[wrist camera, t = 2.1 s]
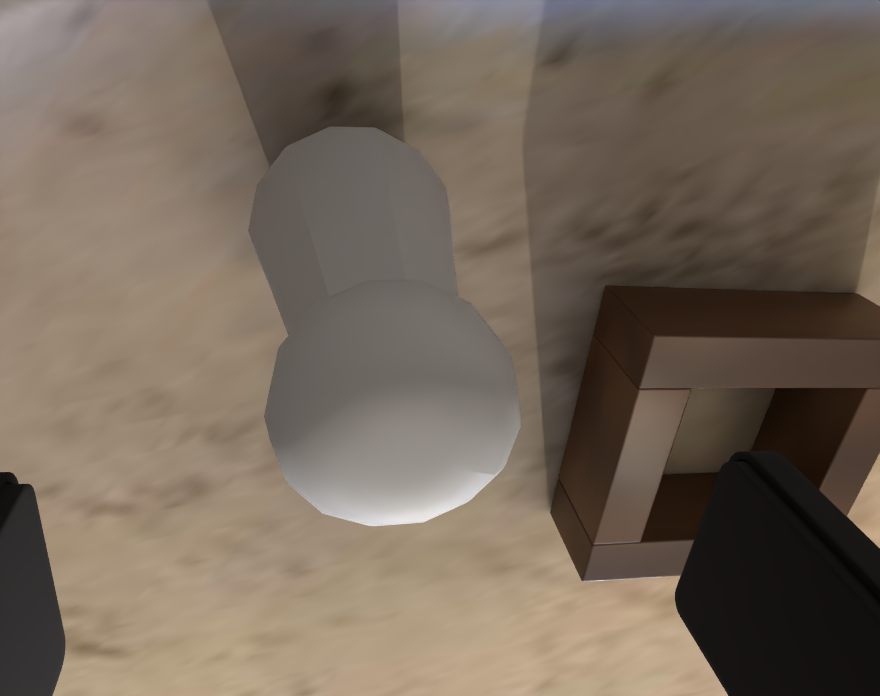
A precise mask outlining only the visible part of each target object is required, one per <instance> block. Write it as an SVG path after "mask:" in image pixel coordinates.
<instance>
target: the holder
mask: <svg viewBox="0 0 880 696" xmlns="http://www.w3.org/2000/svg"><path fill="white" fill-rule="evenodd" d="M691 388H777V390H776V393H775V395H774V398H773V400H772V403H771V405H770V408H769V410H768V413H767V415H766V417H765V420H764V422H763V425H762V427H761V430H760V432H759V435H758V437H757V440H756V442H755V445H754V447H753V450H752V451H776V452H779V453H780V454H782V455H783V456H785V457H786V458H787V459H788V460H789V461H790V462H791V463H792V464H793V465H794V466H795V467H796V468H797V469H798V470H799V471H800V472H801V473H802V474H803V475H804V476H805V477H806V478H807V479H808V480H809V481H810V482H811V483H812V484H813V485H814V486H815V487H817V488H818V489H819V490H820V491H821V492H822V493H823V494H824V495H825V496H826V497H827V498H828V499H829V500H830V501H831V502H832V503H833V504H834V505H835V506H836V507H837V508H838V509H839V510H840V511H841V512H842V513H843V514H844V515H845V516H846V517H847V515H848V513H849V511H850V509H851V507H852V505H853V503H854V502H855V500H856V498H857V496H858V494H859V492H860V490H861V488H862V486H863V484H864V482H865V480H866V478H867V476H868V474H869V472H870V471H871V469H872V467H873V465H874V463H875V461H876V459H877V457H878V455H879V453H880V306H878V305H876V304H875V303H873V302H871V301H869V300H868V299H866V298H864V297H863V296H861V295H859V294H847V293H816V292H785V291H755V290H724V289H693V288H662V287H631V286H606V287H605V290H604V294H603V298H602V302H601V306H600V311H599V315H598V319H597V323H596V327H595V331H594V335H593V340H592V344H591V348H590V352H589V356H588V360H587V364H586V368H585V372H584V376H583V380H582V384H581V388H580V393H579V397H578V401H577V405H576V409H575V413H574V417H573V421H572V425H571V429H570V433H569V437H568V442H567V446H566V450H565V454H564V458H563V462H562V466H561V470H560V474H559V479H558V483H557V487H556V491H555V495H554V499H553V503H552V507H551V511H550V513H551V516H552V518H553V520H554V522H555V524H556V527H557V529H558V531H559V533H560V535H561V537H562V539H563V542H564V544H565V546H566V548H567V550H568V552H569V555H570V557H571V559H572V561H573V563H574V565H575V568H576V570H577V572H578V574H579V576H580V578H581V581H582V582H590V581H605V580H620V579H635V578H650V577H665V576H680V575H681V574H682V571H683V569H684V566H685V563H686V561H687V558H688V555H689V552H690V550H691V547H692V544H693V542H694V539H695V536H696V533H697V531H698V528H699V525H700V523H701V520H702V517H703V515H704V512H705V509H706V506H707V504H708V501H709V498H710V496H711V493H712V490H713V487H714V485H715V482H716V479H717V477H718V474H719V473H709V474H678V475H663V473H664V470H665V467H666V464H667V461H668V458H669V455H670V452H671V449H672V446H673V443H674V440H675V437H676V434H677V431H678V428H679V425H680V422H681V419H682V416H683V413H684V410H685V407H686V404H687V401H688V398H689V395H690V392H691Z"/></svg>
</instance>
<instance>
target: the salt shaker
mask: <svg viewBox="0 0 880 696" xmlns="http://www.w3.org/2000/svg"><path fill="white" fill-rule="evenodd" d="M248 231H249V233H250V236H251V239H252V242H253V245H254V248H255V250H256V253H257V256H258V259H259V262H260V265H261V267H262V270H263V273H264V275H265V277H266V280H267V282H268V284H269V286H270V289H271V291H272V293H273V296H274V299H275V301H276V304H277V306H278V309H279V312H280V314H281V317H282V320H283V322H284V325H285V327H286V330H287V333H288V335H289V336H288V337H287V338H286V339H285V341H284V342H283V343H282V344H281V345H280V347H279V348H278V353H277V358H276V362H275V367H274V371H273V376H272V380H271V385H270V390H269V394H268V399H267V405H266V410H265V415H264V417H265V422H266V426H267V430H268V434H269V438H270V441H271V444H272V446H273V449H274V451H275V454H276V456H277V459H278V462H279V464H280V467H281V469H282V472H283V475H284V477H285V480H286V482H287V483H288V484H289V485H290V486H291V487H292V488H293V489H295V490H296V491H297V492H298V493H299V494H300V495H302V496H303V497H304V498H305V499H306V500H307V501H309V502H310V503H311V504H312V505H313V506H314V507H316V508H317V509H318V510H319V511H320V512H321V513H323V514H327V515H330V516H334V517H338V518H342V519H345V520H349V521H353V522H357V523H361V524H364V525H368V526H382V525H395V524H408V523H421V522H425V521H427V520H429V519H432V518H434V517H436V516H438V515H440V514H443V513H445V512H447V511H449V510H451V509H454V508H456V507H458V506H460V505H463V504H465V503H467V502H468V501H470V500H471V499H472V498H473V497H474V496H475V495H476V494H477V493H478V492H479V491H480V490H481V489H482V488H483V487H485V486H486V485H487V484H488V483H489V482H490V481H491V480H492V479H493V478H494V477H495V476H496V475H497V474H498V473H499V472H500V471H501V470H502V469H503V468H505V465H506V463H507V460H508V458H509V455H510V452H511V450H512V447H513V445H514V442H515V440H516V437H517V434H518V432H519V429H520V427H521V417H520V408H519V399H518V390H517V381H516V375H515V371H514V366H513V361H512V357H511V355H510V354H509V352H508V351H507V349H506V348H505V346H504V344H503V343H502V341H501V340H500V339H499V337H498V336H497V335H496V334H495V332H494V331H493V330H492V329H491V327H490V326H489V325H488V324H487V323H486V321H485V320H484V319H483V318H482V316H481V315H480V314H479V313H478V311H477V310H476V309H475V308H474V306H473V305H472V304H471V303H470V302H467V301H465V300H463V299H461V298H459V297H458V289H457V281H456V272H455V263H454V246H453V229H452V223H451V216H450V210H449V204H448V197H447V191H446V187H445V185H444V184H443V183H442V181H441V180H440V178H439V177H438V176H437V174H436V173H435V172H434V170H433V169H432V167H431V166H430V165H429V163H428V162H427V160H426V159H425V158H424V156H423V155H422V154H421V152H420V151H419V150H417V149H415V148H413V147H411V146H409V145H408V144H406V143H404V142H402V141H400V140H398V139H396V138H394V137H392V136H391V135H389V134H387V133H385V132H383V131H381V130H379V129H377V128H375V127H328V128H325V129H323V130H321V131H319V132H317V133H314V134H312V135H310V136H308V137H306V138H303V139H301V140H299V141H297V142H295V143H292V144H290V145H288V146H286V147H285V148H284V150H283V151H282V152H281V154H280V155H279V156H278V158H277V159H276V160H275V162H274V163H273V164H272V166H271V167H270V169H269V170H268V171H267V173H266V174H265V175H264V177H263V178H262V179H261V181H260V182H259V183H258V185H257V188H256V193H255V198H254V204H253V209H252V214H251V219H250V225H249V230H248Z"/></svg>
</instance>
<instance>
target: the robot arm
mask: <svg viewBox="0 0 880 696" xmlns="http://www.w3.org/2000/svg"><path fill="white" fill-rule="evenodd" d="M675 602H676V607H677V610H678V613H679V615H680V617H681V618H682V620H683V622H684V623H685V625H686V627H687V628H688V630H689V632H690V633H691V635H692V636H693V638H694V640H695V641H696V643H697V645H698V646H699V648H700V650H701V651H702V653H703V655H704V656H705V658H706V659H707V661H708V663H709V664H710V666H711V668H712V669H713V671H714V673H715V674H716V676H717V678H718V679H719V681H720V682H721V684H722V686H723V687H724V689H725V691H726V692H727V694H728V696H880V548H878V547H877V546H876V545H875V544H874V543H873V542H872V541H871V540H870V539H869V538H868V537H867V536H866V535H865V534H864V533H863V532H862V531H861V530H860V529H859V528H858V527H857V526H856V525H855V524H854V523H853V522H852V521H851V520H850V519H849V518H848V517H846V516H845V515H844V514H843V513H842V512H841V511H840V510H839V509H838V508H837V507H836V506H835V505H834V504H833V503H832V502H831V501H830V500H829V499H828V498H827V497H826V496H825V495H824V494H823V493H822V492H821V491H820V490H819V489H818V488H817V487H815V486H814V485H813V484H812V483H811V482H810V481H809V480H808V479H807V478H806V477H805V476H804V475H803V474H802V473H801V472H800V471H799V470H798V469H797V468H796V467H795V466H794V465H793V464H792V463H791V462H790V461H789V460H788V459H787V458H786V457H785V456H783V455H782V454H780V453H779V452H776V451H743V452H737V453H735V454H734V455H733V456H732V457H731V458H730V460H729V462H726V463H725V464H724V465H722V467H721V469H720V471H719V474H718V477H717V479H716V482H715V485H714V487H713V490H712V493H711V496H710V498H709V501H708V504H707V506H706V509H705V512H704V515H703V517H702V520H701V523H700V525H699V528H698V531H697V533H696V536H695V539H694V542H693V544H692V547H691V550H690V552H689V555H688V558H687V561H686V563H685V566H684V569H683V571H682V574H681V577H680V580H679V582H678V585H677V588H676V592H675ZM64 655H65V634H64V629H63V625H62V620H61V615H60V610H59V605H58V601H57V596H56V591H55V586H54V582H53V577H52V572H51V567H50V563H49V558H48V553H47V548H46V544H45V539H44V534H43V529H42V524H41V520H40V515H39V510H38V505H37V501H36V496H35V492H34V489H33V487H32V486H31V485H30V484H18V481H17V478H16V477H15V475H14V474H13V473H10V472H0V696H52V695H53V693H54V690H55V687H56V684H57V681H58V678H59V675H60V672H61V669H62V665H63V661H64Z"/></svg>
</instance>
